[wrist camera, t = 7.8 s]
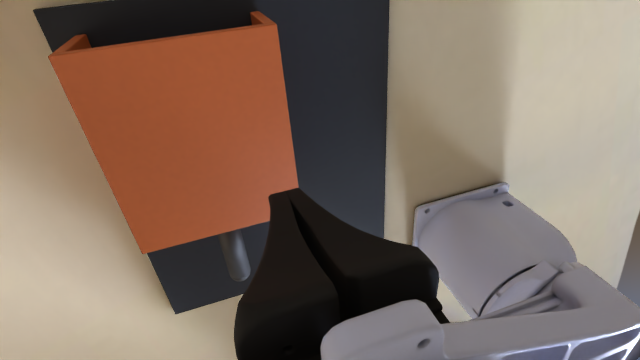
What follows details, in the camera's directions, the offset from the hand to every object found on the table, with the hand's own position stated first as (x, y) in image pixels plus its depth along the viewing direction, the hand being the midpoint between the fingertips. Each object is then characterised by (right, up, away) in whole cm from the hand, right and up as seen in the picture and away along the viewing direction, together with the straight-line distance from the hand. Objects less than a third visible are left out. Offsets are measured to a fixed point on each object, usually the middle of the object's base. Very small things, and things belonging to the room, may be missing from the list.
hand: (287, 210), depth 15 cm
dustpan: (-1, +2, +7) cm, 7 cm away
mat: (-2, +2, +10) cm, 10 cm away
